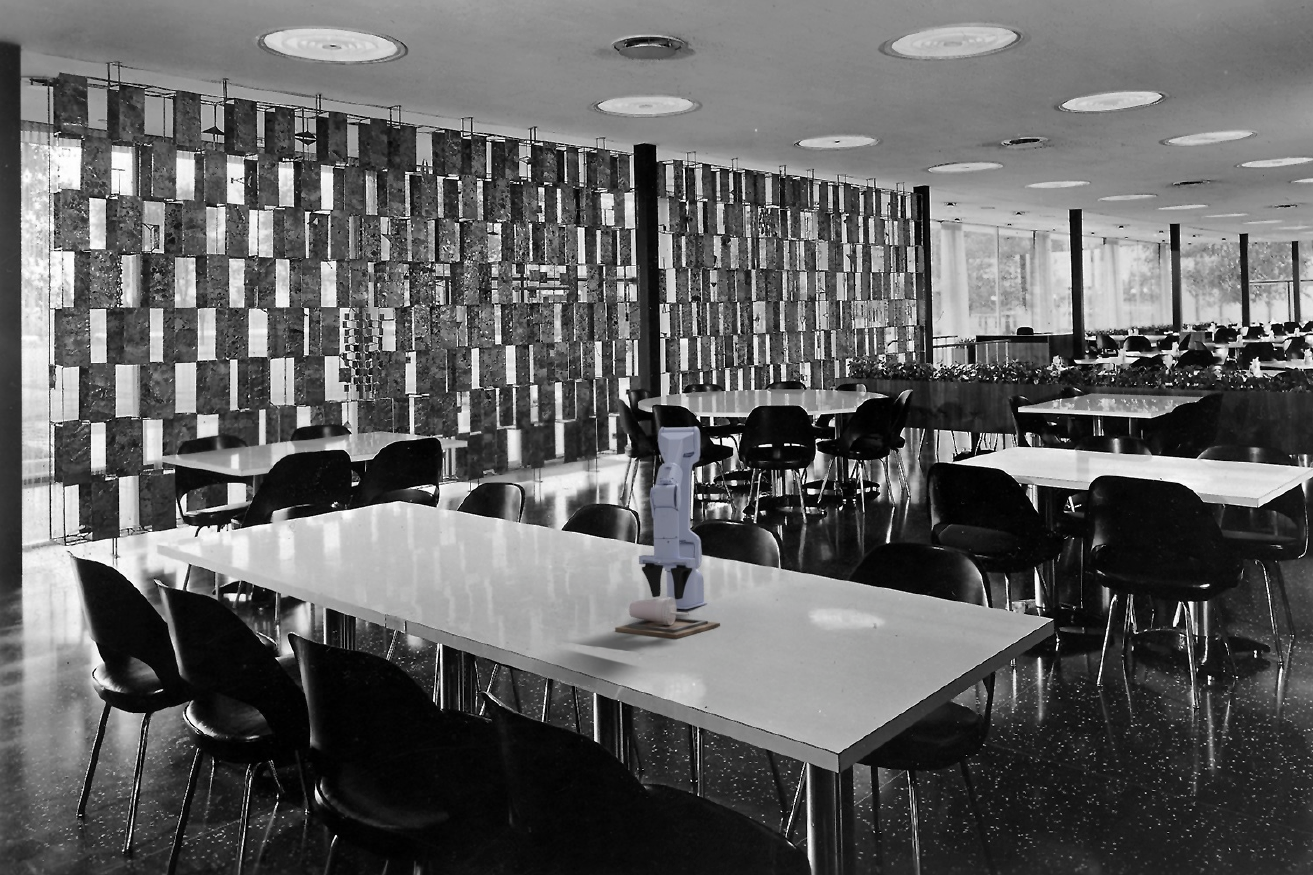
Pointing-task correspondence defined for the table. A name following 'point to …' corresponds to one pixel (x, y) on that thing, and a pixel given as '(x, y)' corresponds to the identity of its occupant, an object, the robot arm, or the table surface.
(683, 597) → the robot arm
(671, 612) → the smoothie
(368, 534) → the table surface
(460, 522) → the table surface
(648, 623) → the holder
